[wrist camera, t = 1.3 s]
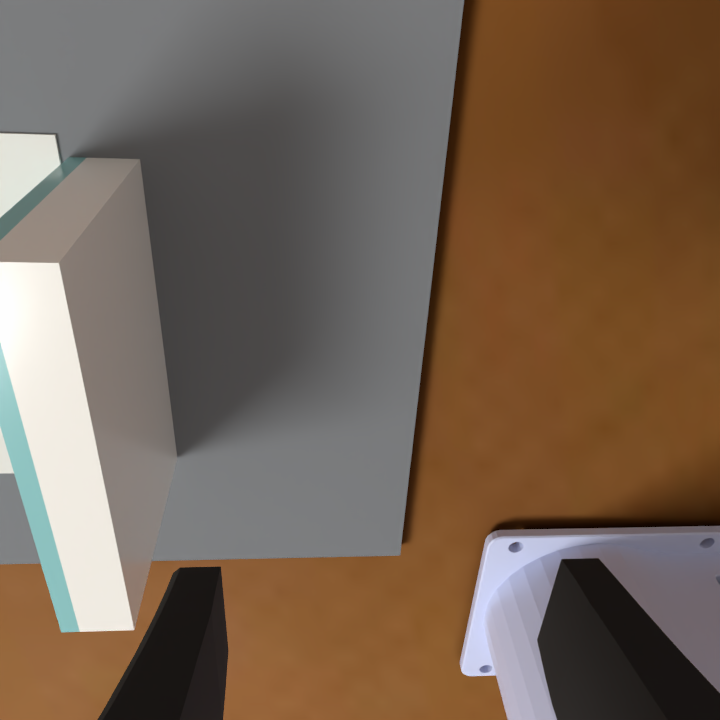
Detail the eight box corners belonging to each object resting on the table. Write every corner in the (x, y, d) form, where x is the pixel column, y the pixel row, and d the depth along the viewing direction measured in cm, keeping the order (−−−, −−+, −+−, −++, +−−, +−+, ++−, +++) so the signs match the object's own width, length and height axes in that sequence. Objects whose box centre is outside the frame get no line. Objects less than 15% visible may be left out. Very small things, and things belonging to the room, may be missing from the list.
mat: (465, -51, 14) (470, -51, 14) (398, 546, 23) (400, 556, 23) (-359, -99, 13) (-380, -101, 12) (-77, 556, 22) (-84, 567, 22)
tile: (139, 159, 15) (58, 263, 10) (177, 457, 20) (134, 629, 15) (68, 157, 15) (-50, 261, 10) (123, 457, 20) (61, 632, 15)
